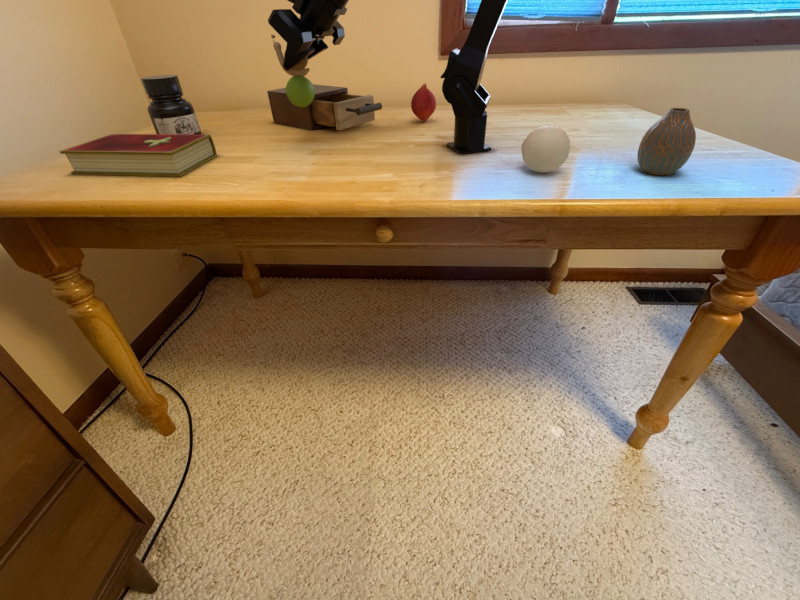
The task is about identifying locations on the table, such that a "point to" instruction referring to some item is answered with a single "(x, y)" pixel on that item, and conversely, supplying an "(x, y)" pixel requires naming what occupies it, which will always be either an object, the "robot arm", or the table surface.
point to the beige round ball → (545, 149)
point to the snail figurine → (297, 80)
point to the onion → (423, 103)
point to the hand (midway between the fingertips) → (288, 68)
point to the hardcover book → (141, 154)
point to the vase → (667, 143)
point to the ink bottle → (169, 106)
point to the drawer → (344, 110)
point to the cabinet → (296, 115)
